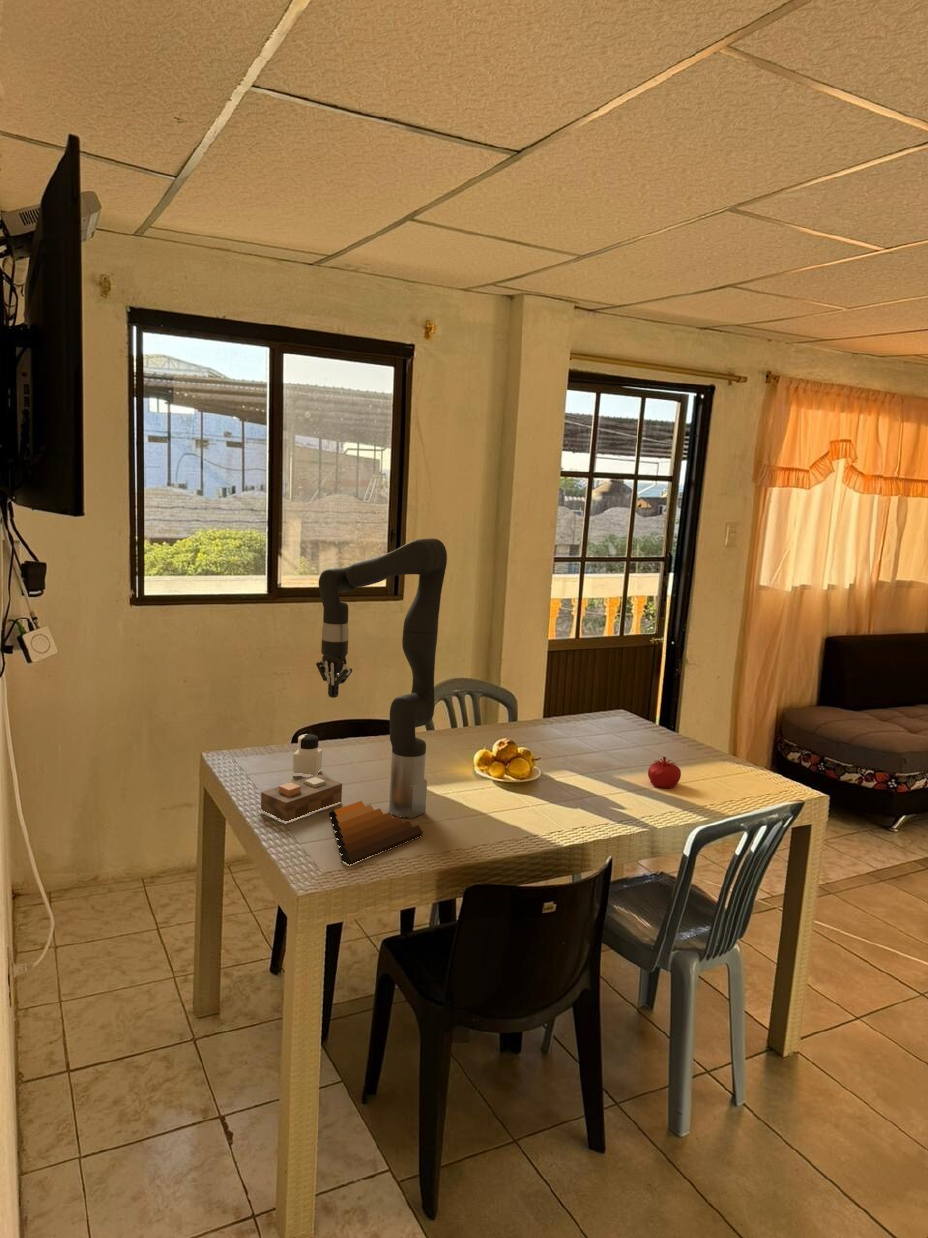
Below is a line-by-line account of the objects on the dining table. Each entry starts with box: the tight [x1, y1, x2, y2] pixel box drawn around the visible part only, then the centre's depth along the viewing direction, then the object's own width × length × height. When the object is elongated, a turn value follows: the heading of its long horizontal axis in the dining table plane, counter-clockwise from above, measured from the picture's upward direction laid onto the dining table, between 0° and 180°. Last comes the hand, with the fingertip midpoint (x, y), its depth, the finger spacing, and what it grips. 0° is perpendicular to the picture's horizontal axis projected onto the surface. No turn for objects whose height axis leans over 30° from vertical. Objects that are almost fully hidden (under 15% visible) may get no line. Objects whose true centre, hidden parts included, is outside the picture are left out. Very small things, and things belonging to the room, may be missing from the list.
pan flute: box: [328, 800, 424, 865], centre depth 220 cm, size 25×3×25 cm
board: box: [260, 774, 343, 821], centre depth 235 cm, size 10×20×6 cm, turn 142°
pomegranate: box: [647, 756, 682, 789], centre depth 270 cm, size 10×10×9 cm
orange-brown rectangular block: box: [278, 781, 301, 797], centre depth 231 cm, size 4×4×6 cm
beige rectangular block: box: [305, 777, 325, 788], centre depth 238 cm, size 4×4×6 cm
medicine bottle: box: [292, 733, 323, 775], centre depth 261 cm, size 7×7×12 cm
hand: (333, 696), depth 248 cm, fingers closed
